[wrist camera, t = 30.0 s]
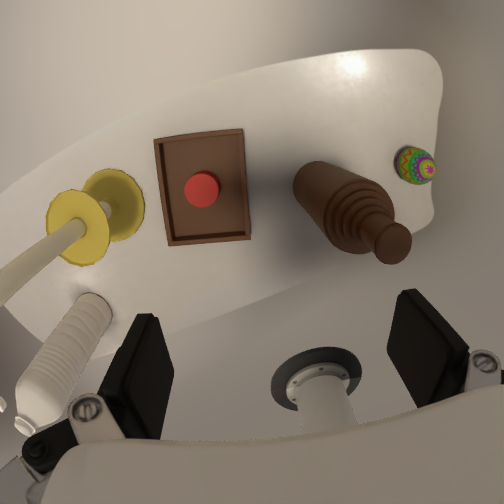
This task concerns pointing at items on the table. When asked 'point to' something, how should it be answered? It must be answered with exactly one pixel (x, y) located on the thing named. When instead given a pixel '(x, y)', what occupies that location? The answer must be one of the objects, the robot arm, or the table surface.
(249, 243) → the table surface
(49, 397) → the white ribbed tube
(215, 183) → the cap
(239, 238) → the tray
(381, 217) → the bottle
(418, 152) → the egg
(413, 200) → the table surface
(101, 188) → the candle
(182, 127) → the table surface
